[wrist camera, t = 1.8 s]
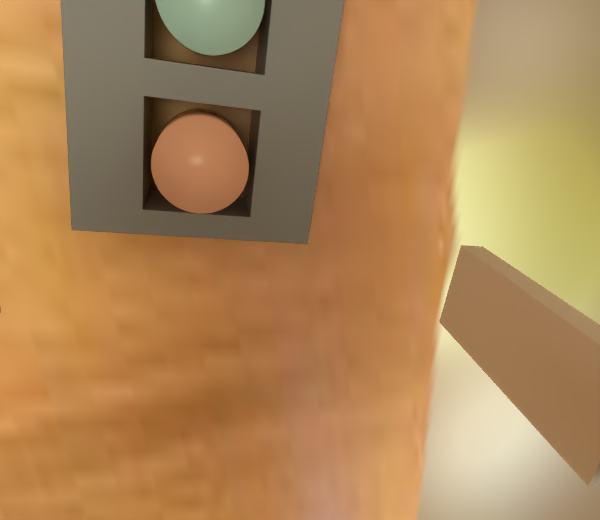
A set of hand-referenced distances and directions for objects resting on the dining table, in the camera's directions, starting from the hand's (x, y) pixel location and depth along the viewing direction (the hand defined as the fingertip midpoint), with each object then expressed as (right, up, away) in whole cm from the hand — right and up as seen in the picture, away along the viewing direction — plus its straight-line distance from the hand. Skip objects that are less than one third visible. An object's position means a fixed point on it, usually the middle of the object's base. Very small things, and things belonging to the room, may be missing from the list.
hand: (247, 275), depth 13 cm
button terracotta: (-4, +6, +12) cm, 14 cm away
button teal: (-3, +13, +9) cm, 16 cm away
